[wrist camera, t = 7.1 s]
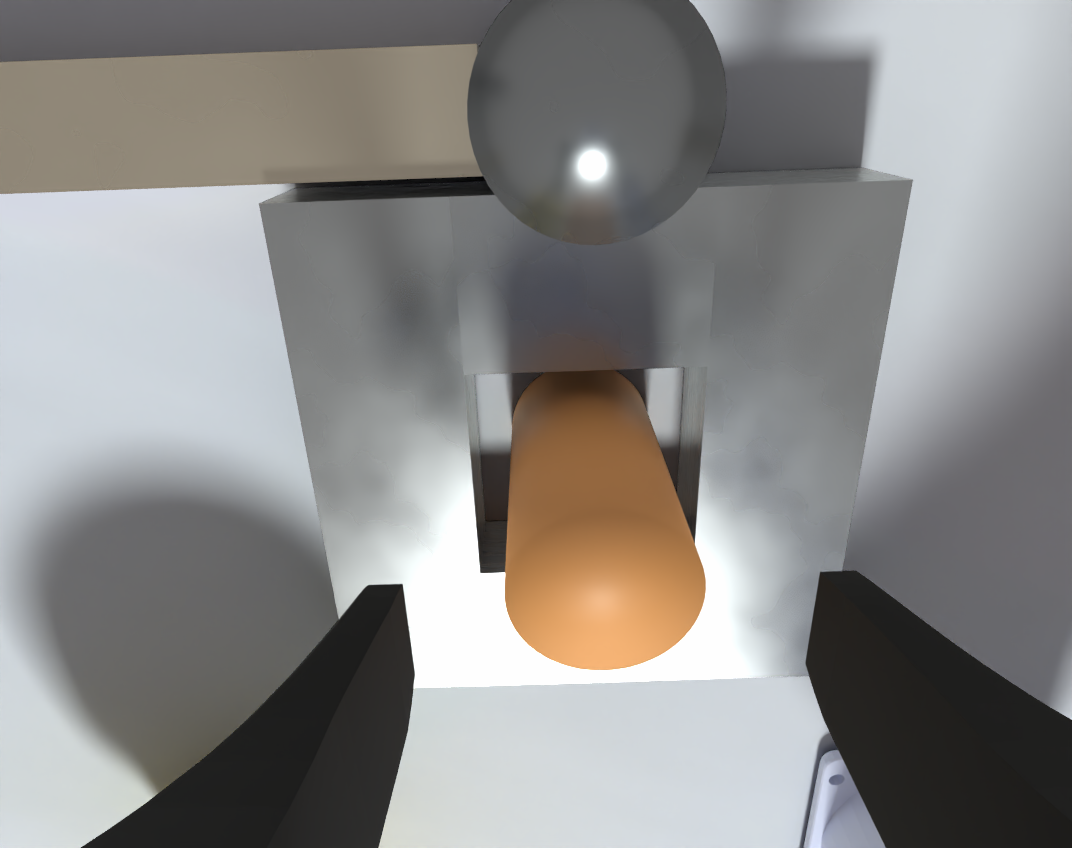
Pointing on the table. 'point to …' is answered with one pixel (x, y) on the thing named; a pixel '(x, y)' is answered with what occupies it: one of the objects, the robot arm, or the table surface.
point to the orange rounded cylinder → (595, 527)
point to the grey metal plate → (522, 294)
